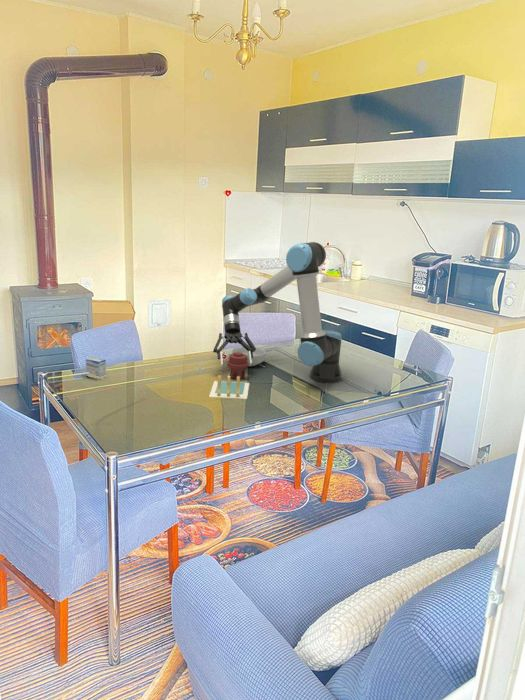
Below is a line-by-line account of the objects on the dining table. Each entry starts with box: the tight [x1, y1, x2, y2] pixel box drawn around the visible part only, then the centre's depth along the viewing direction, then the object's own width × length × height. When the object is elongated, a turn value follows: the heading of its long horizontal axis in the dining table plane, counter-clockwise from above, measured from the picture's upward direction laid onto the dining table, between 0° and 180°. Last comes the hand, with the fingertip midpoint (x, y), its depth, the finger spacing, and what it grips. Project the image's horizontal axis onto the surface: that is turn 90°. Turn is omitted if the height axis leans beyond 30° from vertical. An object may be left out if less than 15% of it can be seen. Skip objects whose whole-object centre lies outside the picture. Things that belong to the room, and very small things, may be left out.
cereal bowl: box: [231, 346, 267, 367], centre depth 260 cm, size 17×17×7 cm
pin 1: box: [217, 374, 222, 396], centre depth 216 cm, size 1×1×9 cm
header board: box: [208, 380, 250, 400], centre depth 224 cm, size 16×19×1 cm
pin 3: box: [236, 376, 241, 397], centre depth 215 cm, size 1×1×9 cm
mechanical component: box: [226, 352, 249, 381], centre depth 239 cm, size 12×10×10 cm
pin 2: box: [226, 374, 231, 397], centre depth 215 cm, size 1×1×9 cm
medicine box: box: [85, 356, 107, 377], centre depth 233 cm, size 8×4×9 cm, turn 68°
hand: (236, 364), depth 239 cm, fingers open, 13 cm apart
